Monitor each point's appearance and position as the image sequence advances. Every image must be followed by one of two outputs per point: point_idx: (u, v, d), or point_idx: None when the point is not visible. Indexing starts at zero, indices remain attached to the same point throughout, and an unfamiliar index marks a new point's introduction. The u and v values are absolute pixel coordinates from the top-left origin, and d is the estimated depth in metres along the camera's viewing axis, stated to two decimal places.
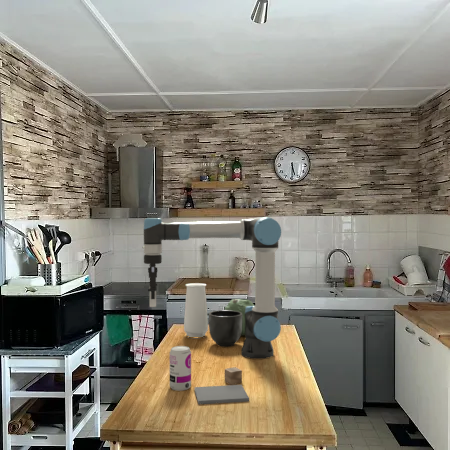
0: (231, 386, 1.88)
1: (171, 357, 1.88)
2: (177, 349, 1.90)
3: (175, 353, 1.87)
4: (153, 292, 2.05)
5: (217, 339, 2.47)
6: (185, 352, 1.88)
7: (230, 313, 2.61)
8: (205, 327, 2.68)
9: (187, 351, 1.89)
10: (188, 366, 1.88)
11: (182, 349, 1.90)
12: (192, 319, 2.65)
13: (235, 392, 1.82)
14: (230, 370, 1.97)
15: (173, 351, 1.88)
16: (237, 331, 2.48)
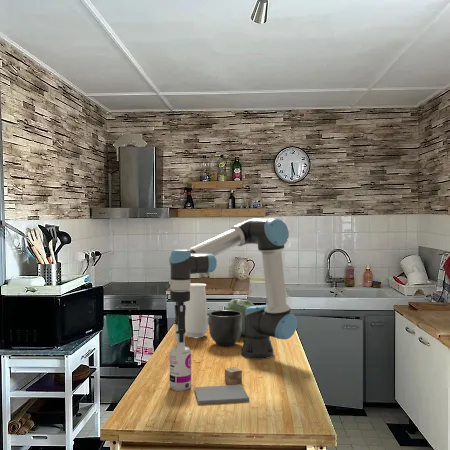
0: (231, 386, 1.88)
1: (171, 357, 1.88)
2: None
3: (175, 353, 1.87)
4: (182, 334, 1.82)
5: (217, 339, 2.47)
6: (185, 352, 1.88)
7: (230, 313, 2.61)
8: (205, 327, 2.68)
9: (187, 351, 1.89)
10: (188, 366, 1.88)
11: None
12: (192, 319, 2.65)
13: (235, 392, 1.82)
14: (230, 370, 1.97)
15: (173, 351, 1.88)
16: (237, 331, 2.48)
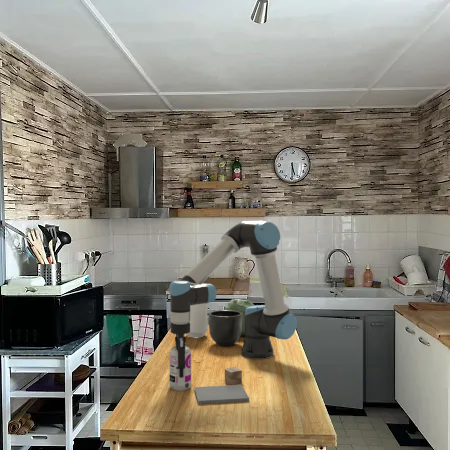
0: (231, 386, 1.88)
1: (171, 357, 1.88)
2: None
3: (175, 353, 1.87)
4: (182, 370, 1.85)
5: (217, 339, 2.47)
6: (185, 352, 1.88)
7: (230, 313, 2.61)
8: (205, 327, 2.68)
9: (187, 351, 1.89)
10: (188, 366, 1.88)
11: None
12: (192, 319, 2.65)
13: (235, 392, 1.82)
14: (230, 370, 1.97)
15: (173, 351, 1.88)
16: (237, 331, 2.48)
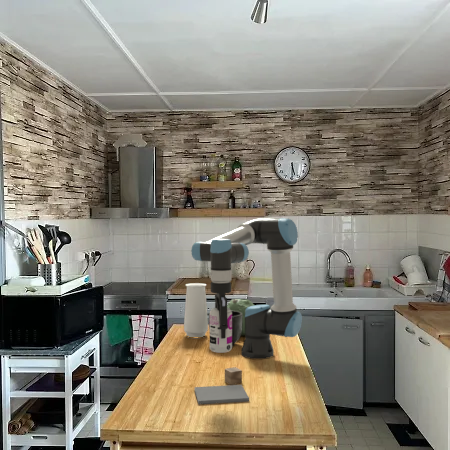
0: (231, 386, 1.88)
1: (212, 317, 1.79)
2: None
3: (216, 313, 1.78)
4: (224, 330, 1.76)
5: None
6: None
7: None
8: (205, 327, 2.68)
9: (228, 311, 1.80)
10: (229, 327, 1.79)
11: None
12: (192, 319, 2.65)
13: (235, 392, 1.82)
14: (230, 370, 1.97)
15: (214, 311, 1.79)
16: (237, 331, 2.48)
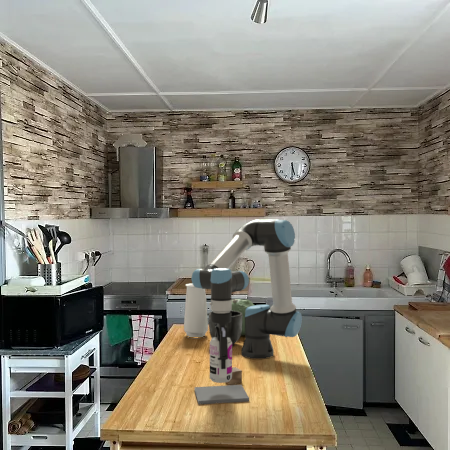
0: (231, 386, 1.88)
1: (212, 348, 1.79)
2: None
3: (216, 343, 1.79)
4: (224, 361, 1.76)
5: None
6: None
7: None
8: (205, 327, 2.68)
9: (228, 341, 1.80)
10: (229, 357, 1.80)
11: None
12: (192, 319, 2.65)
13: (235, 392, 1.82)
14: None
15: (214, 341, 1.79)
16: (237, 331, 2.48)
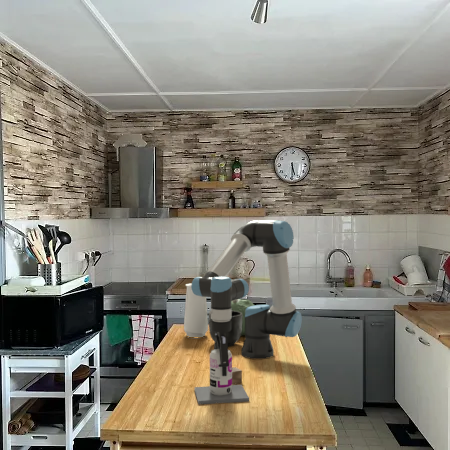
0: None
1: (212, 360, 1.80)
2: (217, 352, 1.81)
3: (216, 356, 1.79)
4: (225, 368, 1.74)
5: None
6: None
7: None
8: (205, 327, 2.68)
9: (228, 354, 1.80)
10: (229, 370, 1.80)
11: None
12: (192, 319, 2.65)
13: (235, 392, 1.82)
14: None
15: (214, 354, 1.80)
16: (237, 331, 2.48)
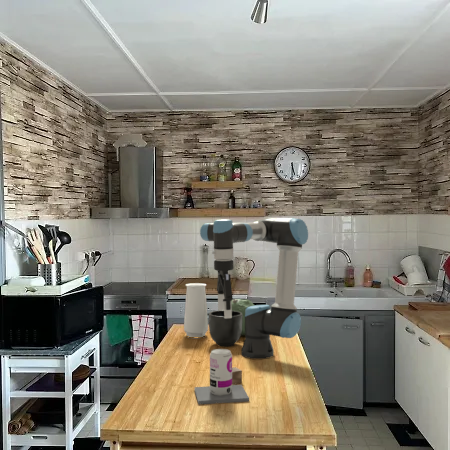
0: None
1: (212, 360, 1.80)
2: (218, 352, 1.81)
3: (216, 356, 1.79)
4: (229, 302, 1.86)
5: (217, 339, 2.47)
6: (226, 355, 1.79)
7: None
8: (205, 327, 2.68)
9: (228, 354, 1.80)
10: (230, 370, 1.80)
11: (223, 352, 1.81)
12: (192, 319, 2.65)
13: (235, 392, 1.82)
14: None
15: (214, 354, 1.80)
16: (237, 331, 2.48)
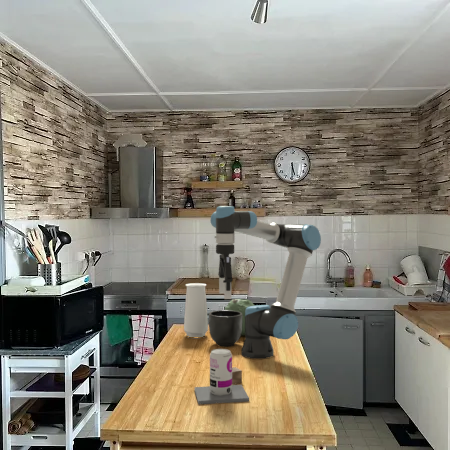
0: None
1: (212, 360, 1.80)
2: (218, 352, 1.81)
3: (216, 356, 1.79)
4: (229, 283, 1.96)
5: (217, 339, 2.47)
6: (226, 355, 1.79)
7: (230, 313, 2.61)
8: (205, 327, 2.68)
9: (228, 354, 1.80)
10: (230, 370, 1.80)
11: (223, 352, 1.81)
12: (192, 319, 2.65)
13: (235, 392, 1.82)
14: None
15: (214, 354, 1.80)
16: (237, 331, 2.48)
